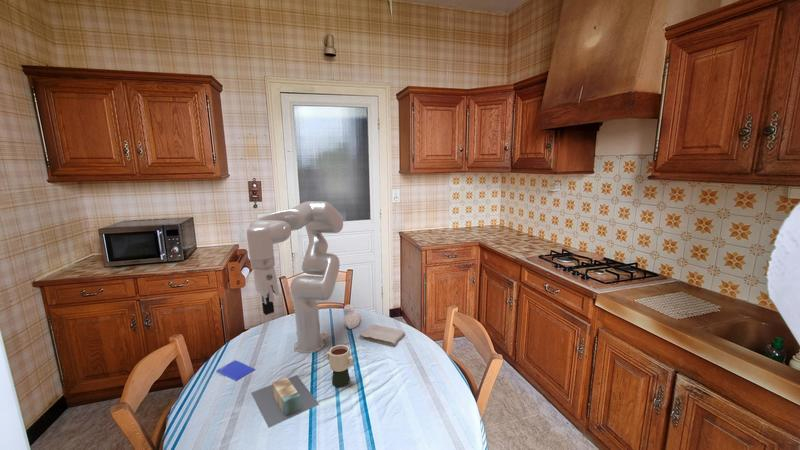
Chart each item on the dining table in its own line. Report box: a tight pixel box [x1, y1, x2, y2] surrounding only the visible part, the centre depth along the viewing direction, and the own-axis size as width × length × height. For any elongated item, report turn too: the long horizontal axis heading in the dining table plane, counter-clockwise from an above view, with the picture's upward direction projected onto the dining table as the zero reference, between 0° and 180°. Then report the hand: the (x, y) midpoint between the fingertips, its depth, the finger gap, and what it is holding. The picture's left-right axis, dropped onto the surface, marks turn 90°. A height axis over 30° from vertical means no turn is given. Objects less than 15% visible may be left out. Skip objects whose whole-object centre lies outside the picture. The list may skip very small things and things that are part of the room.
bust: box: [343, 303, 362, 330], centre depth 165 cm, size 12×8×11 cm
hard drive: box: [215, 359, 257, 382], centre depth 130 cm, size 2×8×12 cm
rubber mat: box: [250, 374, 320, 429], centre depth 114 cm, size 16×20×1 cm
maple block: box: [271, 376, 301, 417], centre depth 111 cm, size 5×5×12 cm
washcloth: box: [359, 324, 406, 348], centre depth 154 cm, size 12×18×3 cm, turn 65°
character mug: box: [326, 344, 355, 388], centre depth 121 cm, size 11×7×13 cm, turn 67°
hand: (268, 312), depth 118 cm, fingers closed
